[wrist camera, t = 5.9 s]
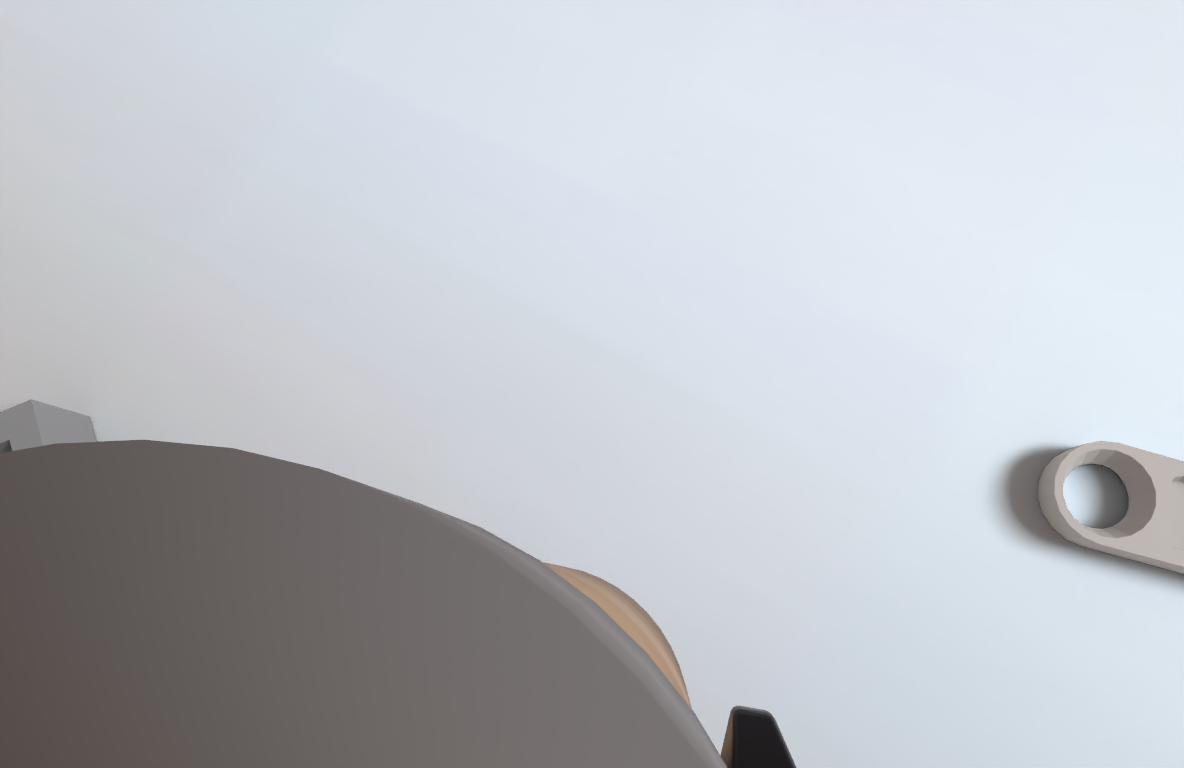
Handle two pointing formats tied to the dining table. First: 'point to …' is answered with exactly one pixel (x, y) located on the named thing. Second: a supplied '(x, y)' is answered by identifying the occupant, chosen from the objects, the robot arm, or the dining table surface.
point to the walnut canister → (304, 627)
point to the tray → (42, 426)
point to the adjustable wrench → (1155, 504)
